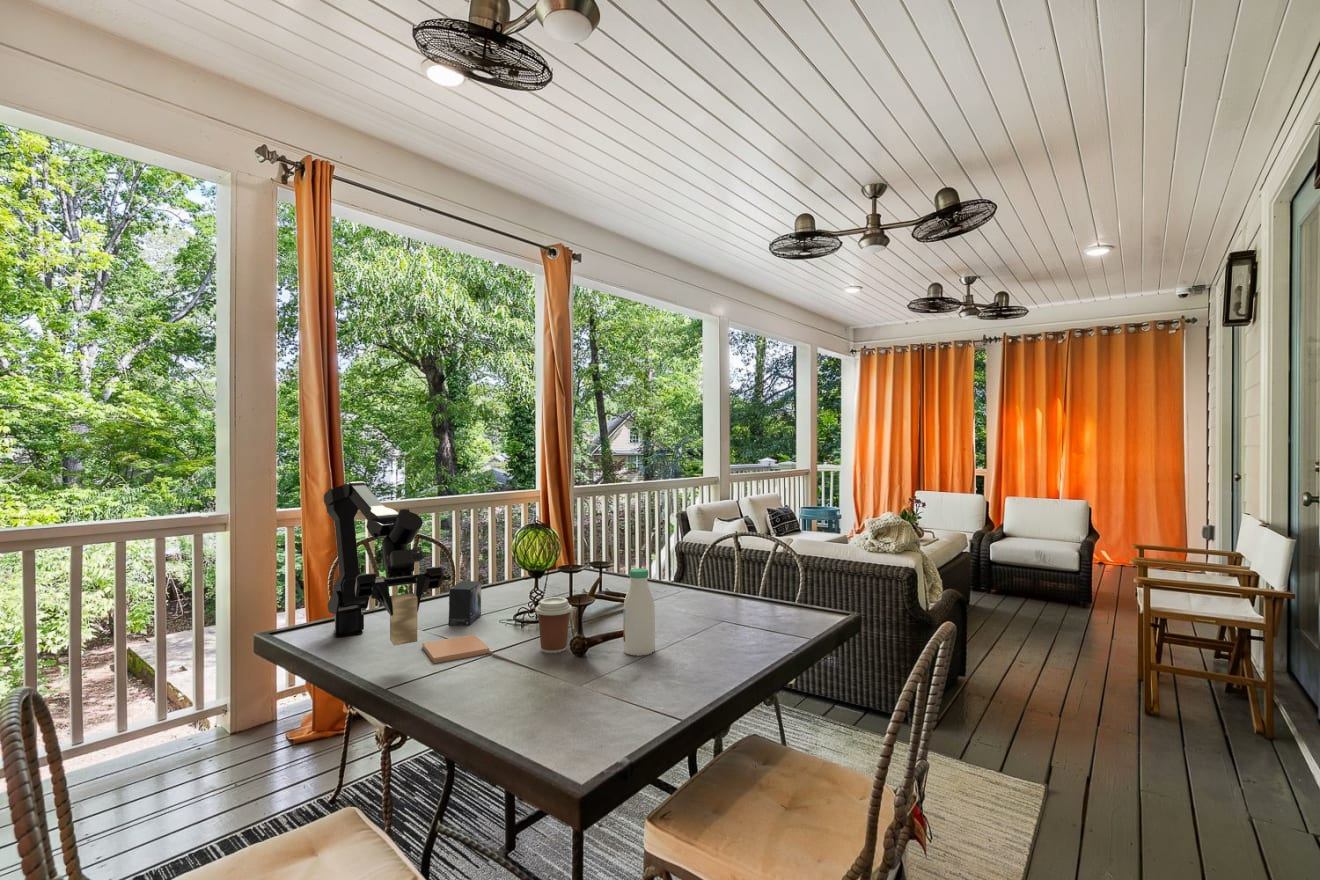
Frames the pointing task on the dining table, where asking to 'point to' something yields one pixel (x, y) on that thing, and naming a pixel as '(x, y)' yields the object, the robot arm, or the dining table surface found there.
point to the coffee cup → (553, 623)
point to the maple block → (403, 619)
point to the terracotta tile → (454, 648)
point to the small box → (464, 602)
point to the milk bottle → (639, 616)
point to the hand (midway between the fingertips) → (404, 612)
